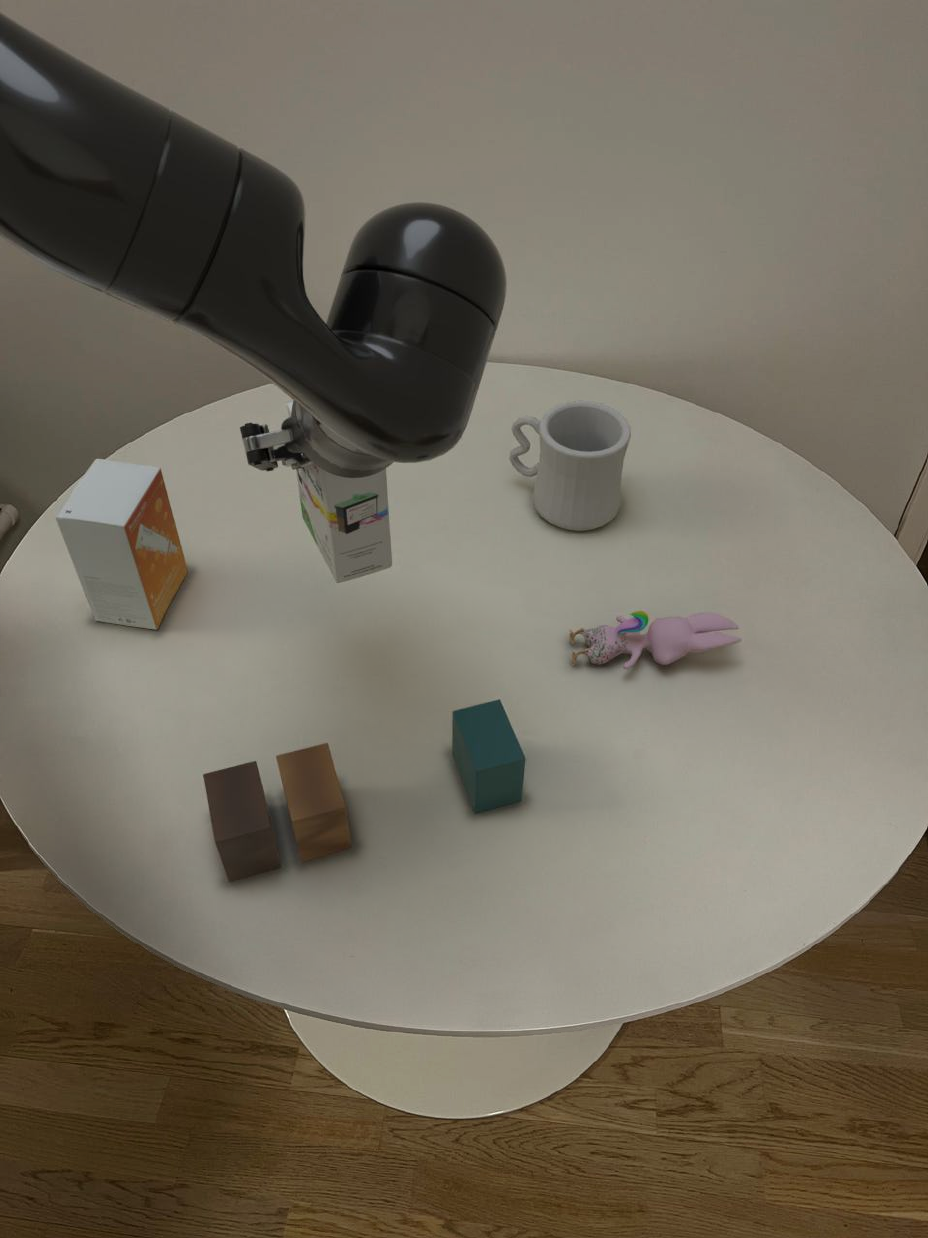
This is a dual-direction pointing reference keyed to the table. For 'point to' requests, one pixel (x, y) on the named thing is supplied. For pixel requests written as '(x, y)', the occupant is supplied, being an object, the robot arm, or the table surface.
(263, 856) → the walnut block
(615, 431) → the mug
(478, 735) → the teal block
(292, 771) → the oak block
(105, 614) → the small box
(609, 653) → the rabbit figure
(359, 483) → the ink box
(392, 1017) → the table surface
